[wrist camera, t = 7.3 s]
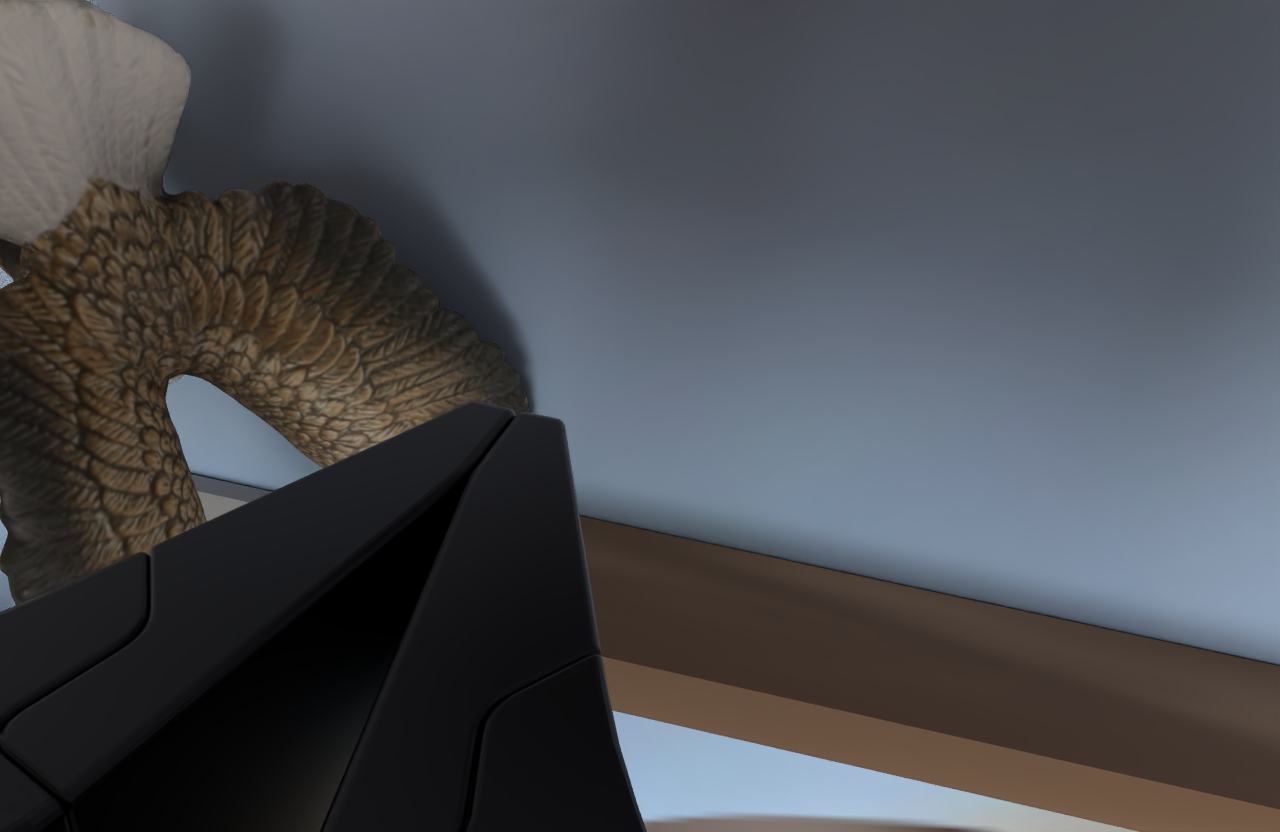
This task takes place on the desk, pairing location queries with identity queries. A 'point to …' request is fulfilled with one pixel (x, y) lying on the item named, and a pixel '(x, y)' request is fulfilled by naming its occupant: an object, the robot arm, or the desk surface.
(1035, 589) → the desk surface
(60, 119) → the eagle figurine
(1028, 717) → the wooden frame
